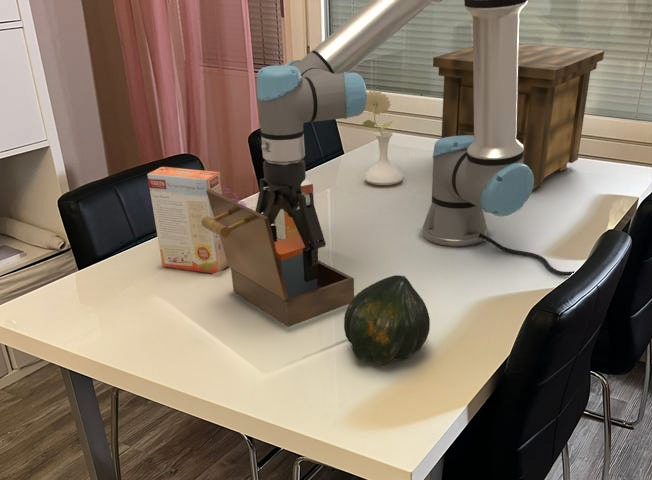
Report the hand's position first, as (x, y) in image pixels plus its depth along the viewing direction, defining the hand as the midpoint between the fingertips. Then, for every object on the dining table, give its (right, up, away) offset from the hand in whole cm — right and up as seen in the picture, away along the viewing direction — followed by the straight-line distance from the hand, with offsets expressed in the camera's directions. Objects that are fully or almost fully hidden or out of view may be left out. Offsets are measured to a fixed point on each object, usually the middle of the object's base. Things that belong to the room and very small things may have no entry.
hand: (290, 268), depth 140 cm
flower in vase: (+19, +33, +68) cm, 78 cm away
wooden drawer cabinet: (+57, +39, +76) cm, 102 cm away
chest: (0, -6, +4) cm, 7 cm away
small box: (-3, +12, +33) cm, 35 cm away
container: (0, -5, +3) cm, 6 cm away
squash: (+18, -17, -14) cm, 28 cm away
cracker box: (-23, +3, +18) cm, 29 cm away
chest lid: (-7, +3, -9) cm, 12 cm away
